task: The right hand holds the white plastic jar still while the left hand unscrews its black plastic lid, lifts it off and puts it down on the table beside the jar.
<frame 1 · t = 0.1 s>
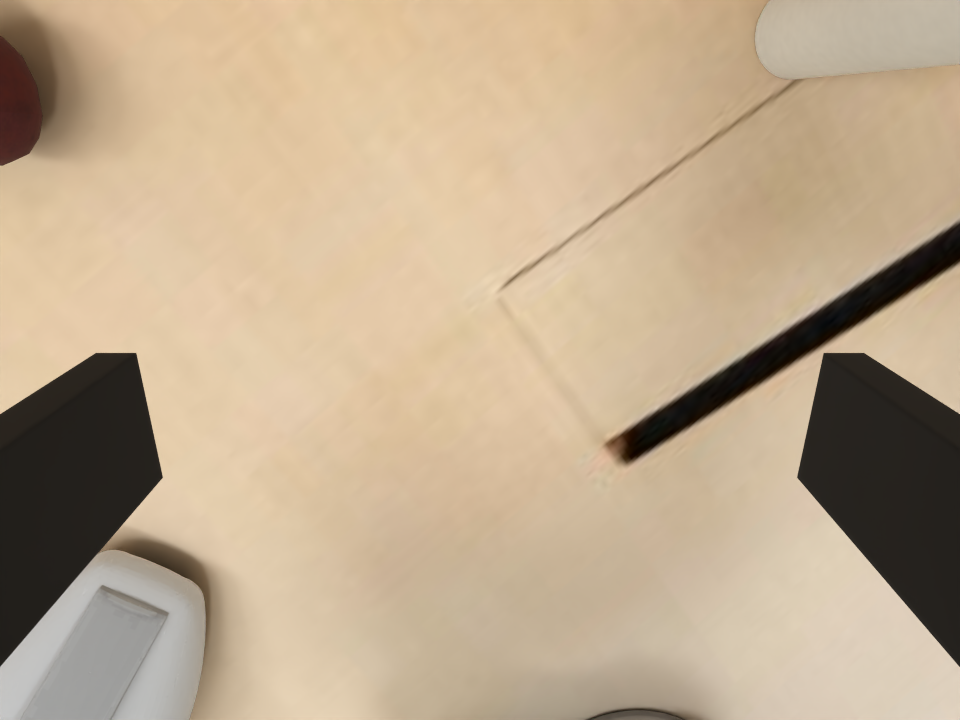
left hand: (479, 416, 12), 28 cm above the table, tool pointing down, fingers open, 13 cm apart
projector: (113, 650, 51), on the table
jar: (798, 31, 35), on the table
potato: (6, 94, 36), on the table
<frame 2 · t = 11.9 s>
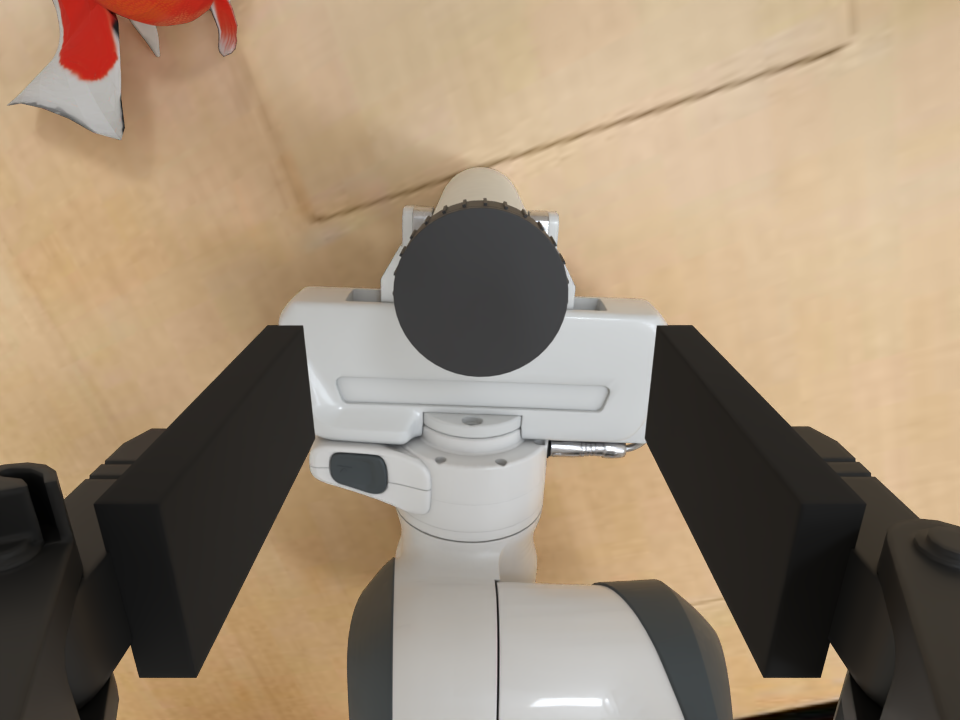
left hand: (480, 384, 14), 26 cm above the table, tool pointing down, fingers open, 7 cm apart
right hand: (480, 209, 32), fingers closed on jar, 5 cm apart
fish: (153, 25, 34), on the table
lid: (480, 293, 21), point 19 cm above the table, screwed on, not yet turned
jar: (480, 209, 38), on the table, touching right hand
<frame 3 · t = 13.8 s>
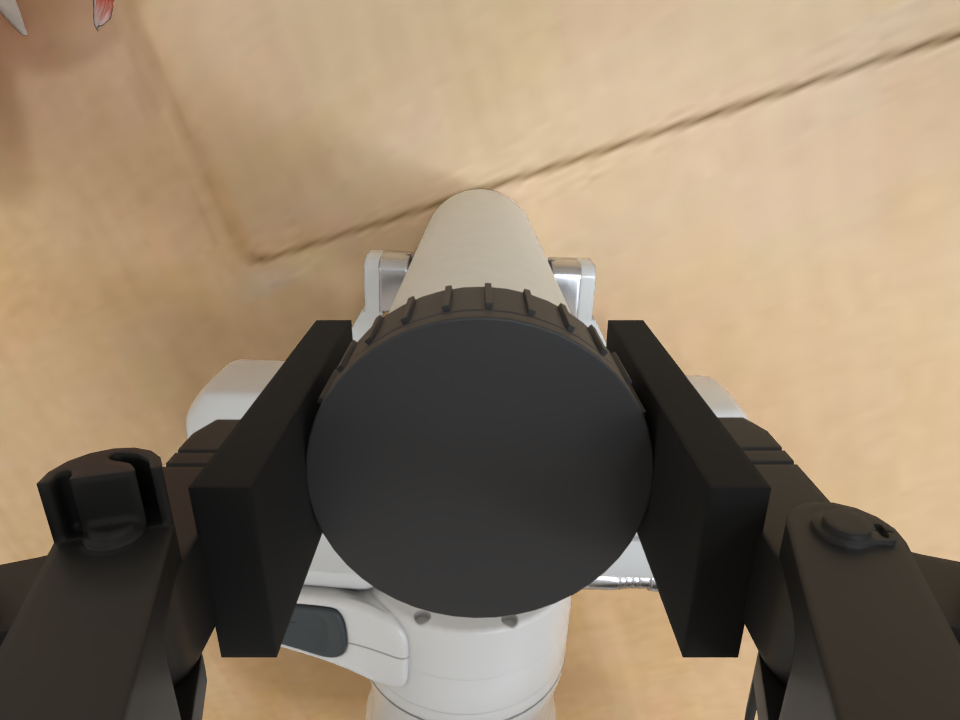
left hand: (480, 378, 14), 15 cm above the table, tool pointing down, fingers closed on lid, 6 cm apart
lid: (479, 471, 11), point 19 cm above the table, screwed on, not yet turned, touching left hand
jar: (479, 245, 28), on the table, touching right hand
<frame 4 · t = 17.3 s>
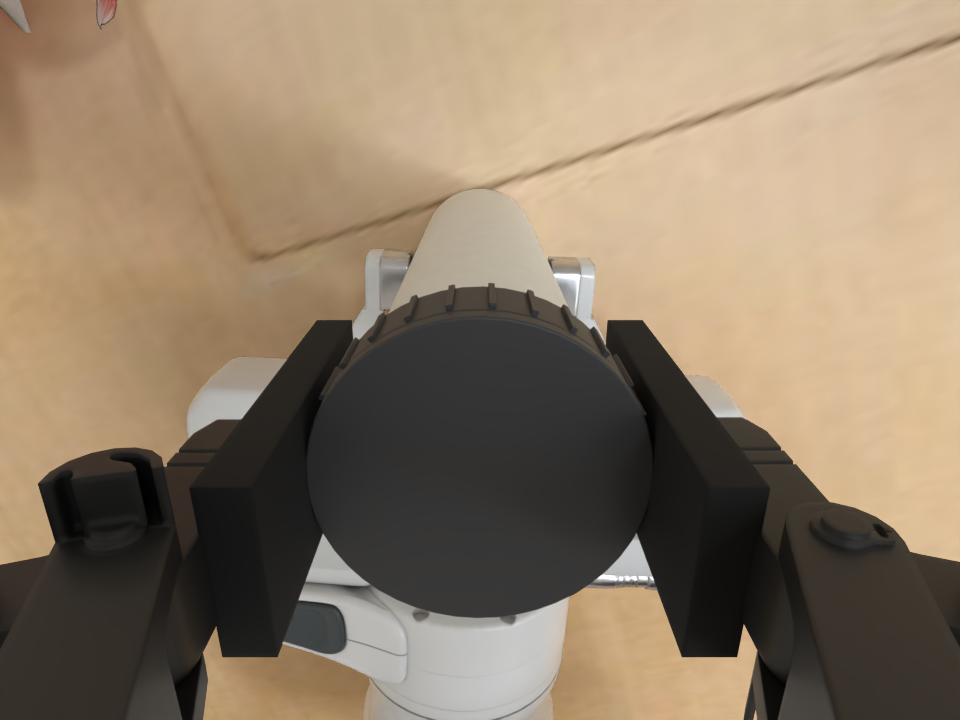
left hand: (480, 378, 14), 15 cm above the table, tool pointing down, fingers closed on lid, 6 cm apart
lid: (479, 471, 11), point 19 cm above the table, turned 106° so far, risen 0.1 cm, still on its thread, touching left hand
jar: (479, 245, 28), on the table, touching right hand
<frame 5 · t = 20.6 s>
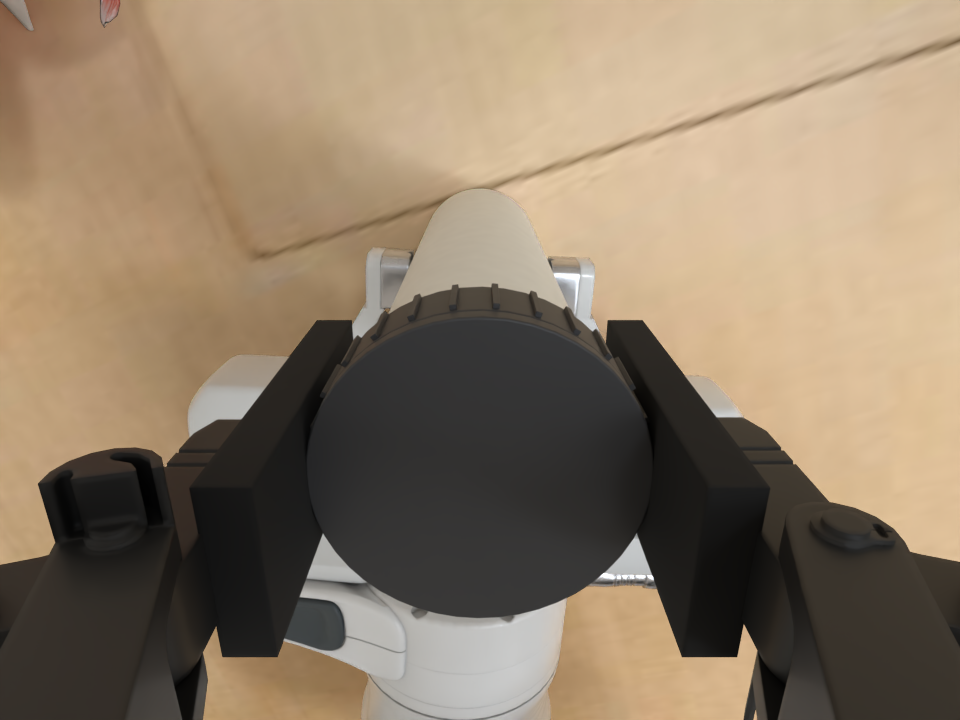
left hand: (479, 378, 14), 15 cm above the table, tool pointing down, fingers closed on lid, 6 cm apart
lid: (479, 471, 11), point 19 cm above the table, turned 212° so far, risen 0.3 cm, still on its thread, touching left hand
jar: (479, 244, 28), on the table, touching right hand
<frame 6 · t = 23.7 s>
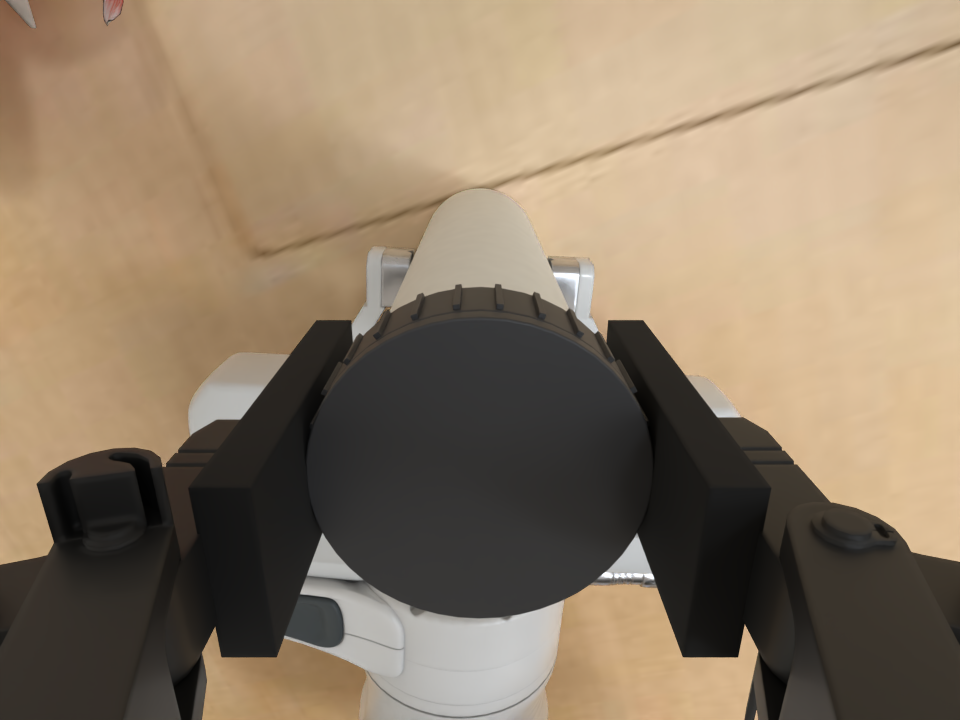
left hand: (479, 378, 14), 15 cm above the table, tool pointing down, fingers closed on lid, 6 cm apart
lid: (479, 472, 11), point 19 cm above the table, turned 318° so far, risen 0.4 cm, still on its thread, touching left hand
jar: (479, 244, 28), on the table, touching right hand
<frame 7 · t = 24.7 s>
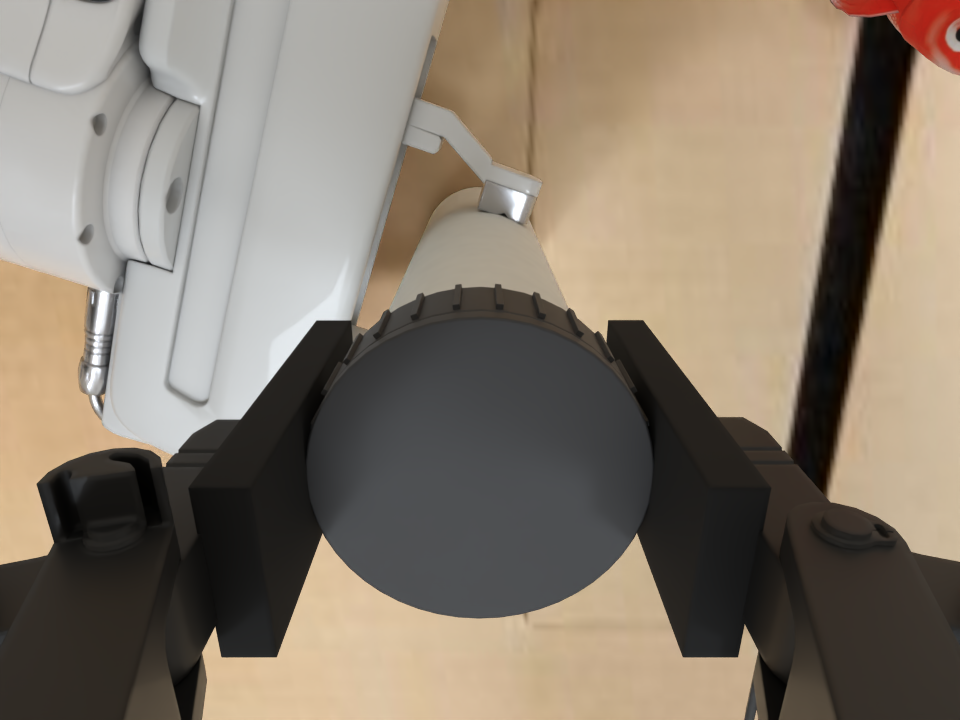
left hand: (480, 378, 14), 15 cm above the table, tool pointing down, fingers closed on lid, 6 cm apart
right hand: (503, 285, 22), fingers closed on jar, 5 cm apart
lid: (479, 472, 11), point 19 cm above the table, off its thread, touching left hand
jar: (479, 242, 28), on the table, touching right hand
when the left hand's fingers open (0 cm above the table, at t = 31.1 s): lid drops 3 cm, point 1 cm above the table.
when the right hand's fingers open (6 cm above the table, at t = 31.8 s): jar stays where it is, on the table.
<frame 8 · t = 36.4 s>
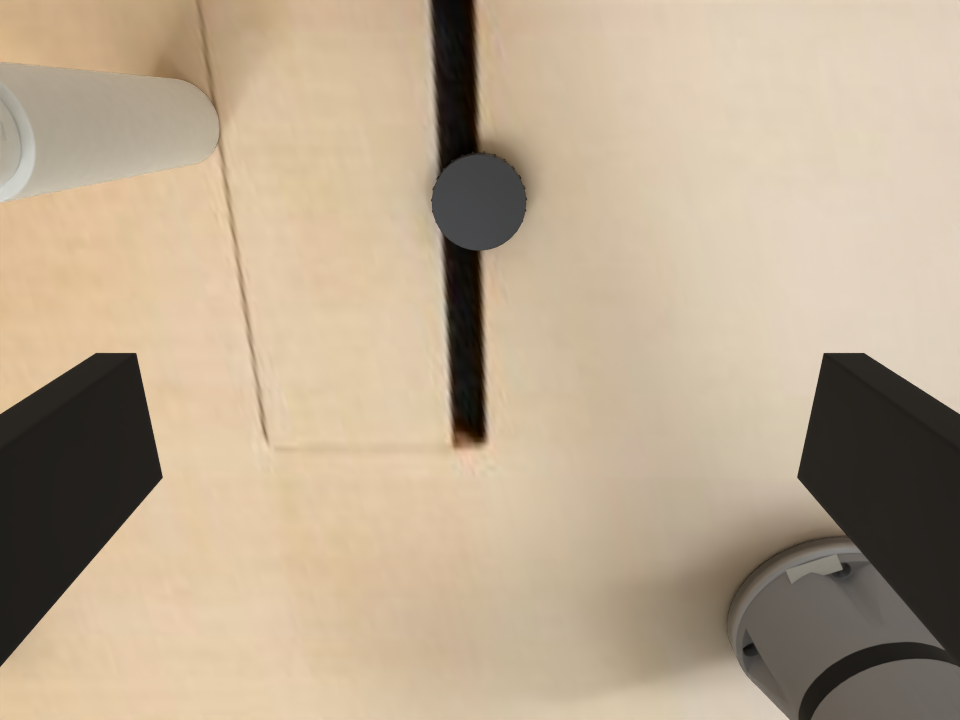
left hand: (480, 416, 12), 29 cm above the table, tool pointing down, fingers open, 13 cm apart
lid: (479, 203, 38), point 1 cm above the table, off its thread
jar: (179, 123, 38), on the table
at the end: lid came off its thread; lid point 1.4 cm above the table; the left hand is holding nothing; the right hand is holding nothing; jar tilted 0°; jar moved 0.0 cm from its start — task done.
